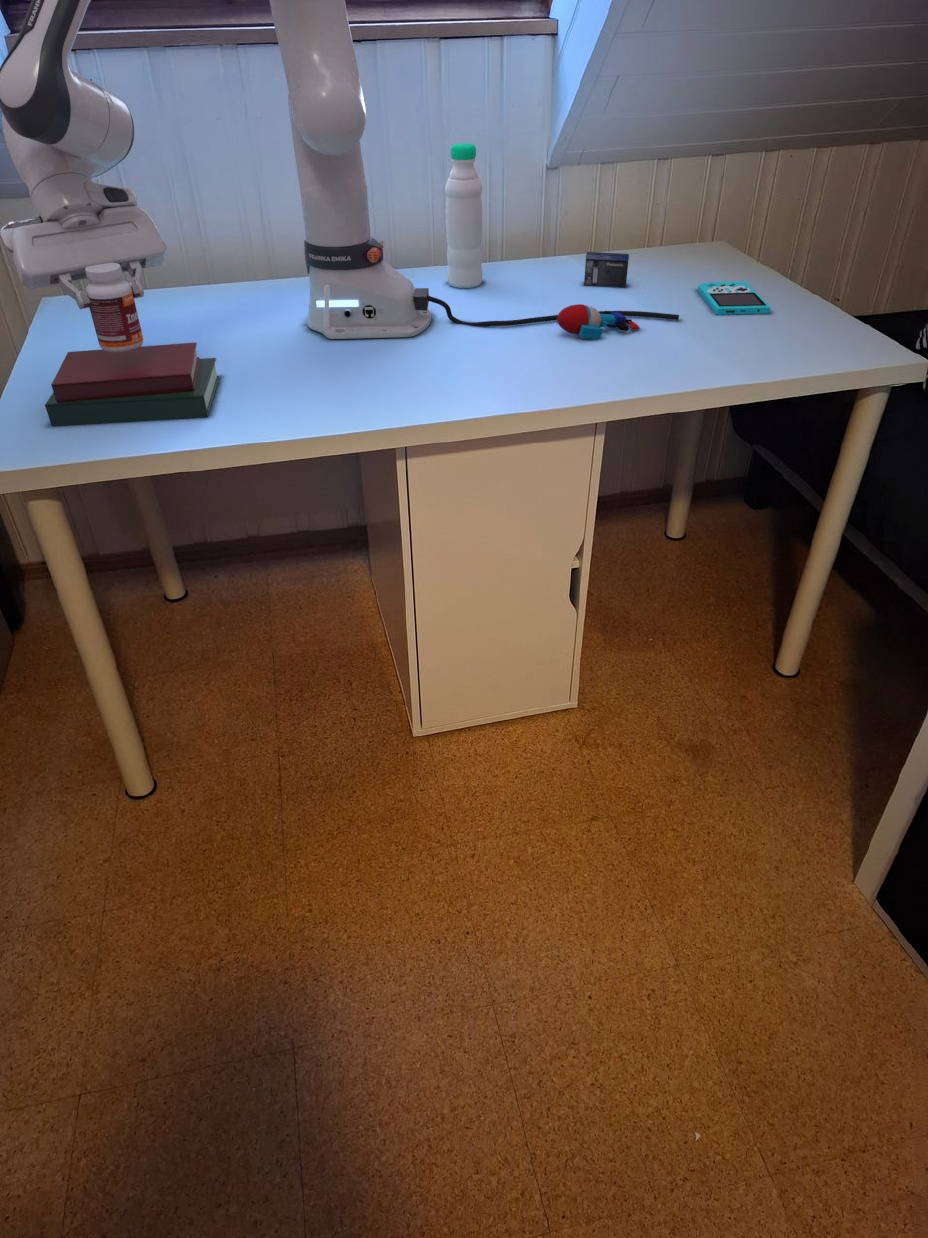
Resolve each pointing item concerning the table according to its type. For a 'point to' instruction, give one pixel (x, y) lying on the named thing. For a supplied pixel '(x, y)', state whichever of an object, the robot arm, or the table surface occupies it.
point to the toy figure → (591, 321)
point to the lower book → (140, 404)
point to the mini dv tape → (606, 269)
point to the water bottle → (464, 219)
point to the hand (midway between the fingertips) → (112, 300)
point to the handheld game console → (732, 298)
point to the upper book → (127, 372)
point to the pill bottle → (113, 308)
